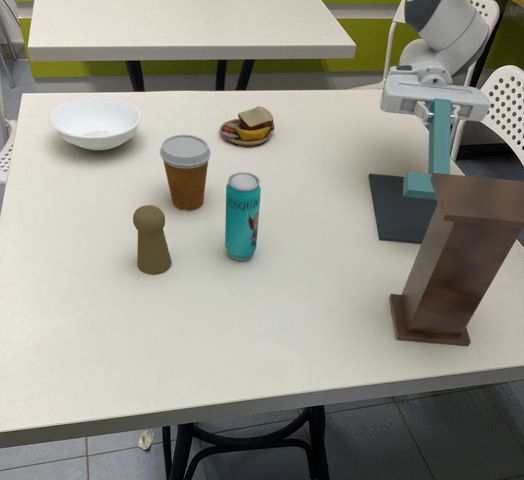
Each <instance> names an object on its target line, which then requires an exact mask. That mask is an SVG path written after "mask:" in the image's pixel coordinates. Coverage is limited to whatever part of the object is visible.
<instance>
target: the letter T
mask: <svg viewBox="0 0 524 480" xmlns="http://www.w3.org/2000/svg"><path fill="white" fill-rule="evenodd" d="M430 110H433V112H434V117H433V119H432V122H431V123H428V126H429V130H428V168H427V170H428V171H427V173H426V172H425V173H424V172H413V171H407V172H406V174H405V175H404V176H403V177H404V181H403V197H414V198H424V199H435V200H437V199H436V196H435V193H434V190H433V187H432V184H431V180H430V177H431V175H432V173H441V174H451V125H450V123H451V100H448V99H438V98H435V99H434V101H433V102H432V104H431V106H430Z"/></svg>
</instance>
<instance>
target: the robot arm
mask: <svg viewBox="0 0 524 480" xmlns="http://www.w3.org/2000/svg"><path fill="white" fill-rule="evenodd" d="M403 17H404V23H405V24H406V25H407V26H408V27H409V28H410V29H411V30H412V31H414V32H415V33H416V34H418V35H419V36H420V38H417V39H414V40H412V41H410V42H409V43H408V44H407V45H405V47H404V48H403V50H402V52H401V55H400V58H399V61H398V65H393V66H390V68H389V69H388V73H387V76H386V78H385V81H384V86H383V89H382V91H381V97H380V100H379V108H380V110H381V111H382V112H384V113H388V114H389V113H391V114H400V115H401V114H402V115H410V116H416V117H418V118H419V119H422V122H423V123H427V124H429V123H431V122H432V119H433V117H434V112H433V110H430V106H431V104H432V102H433V101H434V99H435V98H438V99H448V100H451V123H450V126H456V125H457V122H458V120H459V121H467V122H468V121H469V122H482V121H483V120H484V119H485V118H486V116H487V115H488V112H489V110H490V107H491V101H490V99H489V98H488V96H487V95H486V94H485V93H484V92H483V91H482V90H481V89H479V88H477V87H473V86H466V85H456V84H453V79H454V78H456V77H458V76H460V75H461V74H463V73H464V72H466V71H467V70H468V69H470V68H471V67H472V66H473V65H474V64H475V63H476V61H478V60H479V58H480V57H481V56H482V54H483V52H484V50H485V47H486V44H487V41H488V39H489V34H490V25H489V23H487V21H486V20H485V19H484V17H483V16H482V15H481V14H480V12H479V11H478V9H477V8H476V6H474V4H473V3H472V2H471V1H470V0H404V8H403Z"/></svg>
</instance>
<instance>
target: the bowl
mask: <svg viewBox="0 0 524 480" xmlns="http://www.w3.org/2000/svg"><path fill="white" fill-rule="evenodd" d="M142 119H143V116H142V112H141V110H140V109H139V107H137V106H136V105H135V104H133V103H131V102H130V101H127V100H124V99H121V98H118V97H112V96H104V95H103V96H101V95H97V96H96V95H93V96H82V97H77V98H72V99H69V100H66V101H64V102H62V103H61V102H60V103H59V104H58V105H56V106H54V108H53V109H52V110H50V112H49V114H48V123H49V125H50V126H51V128H53V129H54V130H55V131H57V133H58V134H59V136H60V137H61V138H62V139H63V140H64V141H66V142H67V143H69V144H72V145H75V146H77V147H80V148H82V149H86V150H91V151H106V150H107V151H108V150H111V149H115V148H117V147H118V146H121V145H122V144H125V142H128V141H129V140H130V139H131V138H133V137H134V136H135V134H136V132H137V128H138V126H139V125H140V123H141V121H142ZM91 131H92V132H93V131H94V132H95V131H108V133H109V132H111V133H110V134H108V133H106V134H107V136H106V134H104V135H105V136H104V135H103V133H104V132H103V133H102V135H103V136H101V135H100V133H101V132H100V133H98V134H99V135H100V136H95V137H90V136H82V135H84V134H86V133H90V132H91ZM112 133H114V134H112ZM98 134H97V135H98ZM111 134H112V135H111Z"/></svg>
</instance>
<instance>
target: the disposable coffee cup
mask: <svg viewBox="0 0 524 480" xmlns="http://www.w3.org/2000/svg"><path fill="white" fill-rule="evenodd" d="M161 143H162V144H161V146H160V148H159V156H160V158H161V160H162V162H163V165H164V170H165V175H166V180H167V184H168V187H169V193H170V198H171V203H172V205H173V207H175V208H177V209H179V210H182V211H194V210H198V209H199V208H201V207H202V206H203V204H204V200H205V191H206V182H207V173H208V167H209V160H210V158H211V155H212V152H211V149H210V147H209V144H208V142H207V141H206V140H205V139H203V138H202V137H200V136H197V135H193V134H176V135H172V136H169V137H166V138H165V139H164V140H163V141H162V142H161Z"/></svg>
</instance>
